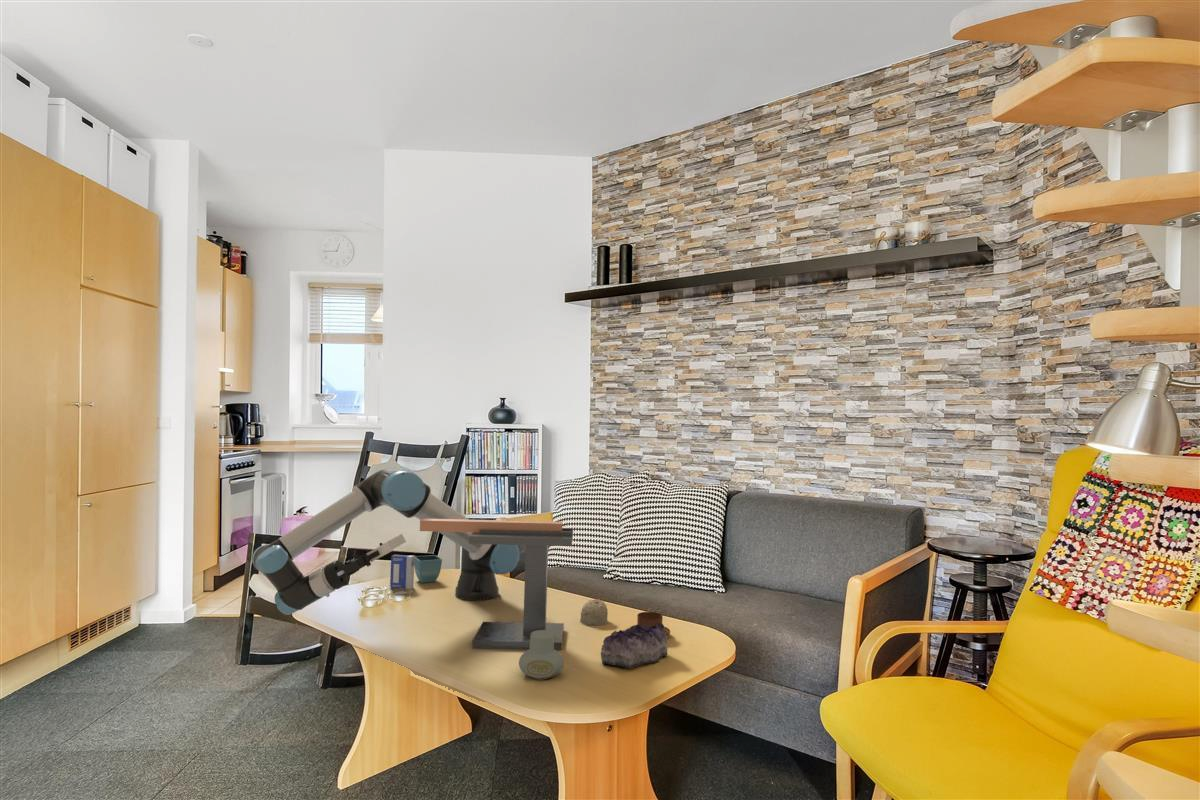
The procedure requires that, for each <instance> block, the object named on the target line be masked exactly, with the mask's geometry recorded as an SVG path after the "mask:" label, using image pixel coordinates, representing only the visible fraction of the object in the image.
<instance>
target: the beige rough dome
mask: <svg viewBox="0 0 1200 800" xmlns="http://www.w3.org/2000/svg"><path fill="white" fill-rule="evenodd" d="M608 614H609V612H608V608H607V605H606V603H605V602H604V601H603V600H601V599H597V598H594V599H590V600H588V601H586V602H585V603H584V604H583V606H582V608H581V612H580V618H579V621H580V623H582V624H583V625H587V626H590V627H591V626H592V627H594V626H598V627H599V626H605V625H607V624H608Z"/></svg>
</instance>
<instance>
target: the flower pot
mask: <svg viewBox="0 0 1200 800" xmlns="http://www.w3.org/2000/svg"><path fill="white" fill-rule="evenodd" d="M414 556H415V557H414V574H415V575H416V579H418V581H419V582H420V583H423V584H424V583H425V584H426V583H434V582H436V581H437V580H438V578H439V576H440V573H441V570H442V565H443V564H442V563H443V558H441V557H440V556H438V555H436V554H433V555H418V556H417V555H414Z"/></svg>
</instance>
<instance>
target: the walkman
mask: <svg viewBox="0 0 1200 800" xmlns="http://www.w3.org/2000/svg"><path fill="white" fill-rule="evenodd" d="M415 556H416V555H411V554H410V555H404V554H393V555H391V557H390V580H389V588H390V587H391V588H390V589H394V588H403V589H402V590H412V589H413V588H414V585H415V584H414V581H415V580H414V579H415V567H414V557H415ZM411 588H412V589H411Z"/></svg>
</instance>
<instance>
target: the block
mask: <svg viewBox="0 0 1200 800" xmlns="http://www.w3.org/2000/svg"><path fill="white" fill-rule="evenodd" d="M562 528H563V521H548V520H547V521H545V520H544V521H543V520H541V521H540V520H539V521H538V520H537V521H536V520H534V521H533V520H503V519H501V520H500V519H498V520H497V519H469V520H466V519H424V518H423V519H422V520H419V532H437V533H439V532H478V533H480V529H485V530H528V531H562Z"/></svg>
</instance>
